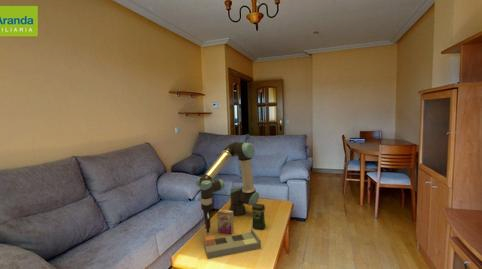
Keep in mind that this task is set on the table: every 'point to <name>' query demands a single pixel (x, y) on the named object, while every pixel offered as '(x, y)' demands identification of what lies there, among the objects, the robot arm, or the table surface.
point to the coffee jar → (258, 216)
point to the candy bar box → (225, 221)
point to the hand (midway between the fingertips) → (207, 235)
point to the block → (209, 240)
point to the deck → (233, 244)
